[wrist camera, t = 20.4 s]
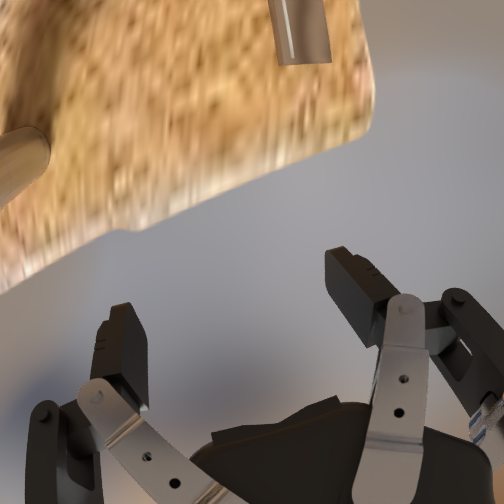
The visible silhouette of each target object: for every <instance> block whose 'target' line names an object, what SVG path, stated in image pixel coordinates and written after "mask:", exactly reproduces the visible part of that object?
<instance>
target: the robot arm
mask: <svg viewBox="0 0 504 504" xmlns="http://www.w3.org/2000/svg"><path fill="white" fill-rule="evenodd" d="M49 159H50V148H49V143H48V141H47V139H46V137H45V135H44V134H43V133H42V132H41V131H40V130H38V129H36V128H34V127H22V128H19V129H16V130H13V131H11V132H8V133H5V134H3V135H0V211H1V210H2V209H3V208H4V207H5V206H6V205H7V204H8V203H9V202H10V201H12V200H13V199H14V198H15V197H16V196H17V195H18V194H20V193H21V192H22V191H23V190H24V189H25V188H27V187H28V186H29V185H30V184H32V183H33V182H34V181H35V180H36V179H38V178H39V177H40V176H41V175H42V174H43V173H44V172H45V170H46V168H47V166H48V163H49ZM325 284H326V288H327V291H328V293H329V295H330V296H331V298H332V299H333V301H334V302H335V304H336V305H337V306H338V308H339V309H340V311H341V312H342V313H343V315H344V316H345V318H346V319H347V321H348V322H349V324H350V325H351V326H352V328H353V329H354V331H355V332H356V334H357V335H358V337H359V338H360V339H361V341H362V342H363V344H364V345H365V347H366V348H369V347H371V346H373V345H377V347H378V348H379V351H378V355H377V361H376V367H375V372H374V377H373V383H372V388H371V393H370V396H369V401H368V404H365V403H360V402H342V403H340V401H339V399H338V397H337V395H335V396H333V397H330V398H327V399H325V400H322V401H319V402H317V403H314V404H311V405H308V406H306V407H304V408H303V409H301V410H299V411H298V412H296V413H295V414H293V415H291V416H290V417H288V418H286V419H284V420H283V421H281V422H279V423H275V424H264V425H263V424H262V425H242V426H238V427H234V428H230V429H226V430H222V431H217V432H212V433H211V436H212V440H213V441H212V442H210V443H208V444H206V445H204V446H203V447H201V448H200V449H199V450H198V451H196V452H195V453H194V454H193V455H192V456H191V457H190V458H189V460H188V459H187V458H186V457H185V456H184V455H182V454H181V453H180V452H179V451H178V450H177V449H175V448H174V447H173V446H172V445H171V444H170V443H169V442H168V441H167V440H165V439H164V438H163V437H162V436H161V435H160V434H159V433H158V432H157V431H155V429H154V428H152V427H151V426H150V425H149V424H148V423H147V422H146V421H145V420H144V419H143V418H142V417H141V416H140V411H145V410H149V397H148V357H147V356H148V349H147V348H148V343H147V337H146V334H145V331H144V328H143V326H142V324H141V322H140V321H139V318H138V317H137V315H136V312H135V310H134V308H133V306H132V305H131V303H130V302H127V303H123V304H119V305H115V306H112V307H111V311H110V317H109V320H107V321H103V323H102V324H101V326H100V328H99V329H98V331H97V336H96V343H95V348H94V350H95V351H94V354H93V360H92V367H91V374H90V380H89V381H87V382H86V383H85V384H84V385H83V386H82V387H81V388H80V390H79V392H78V395H77V399H75V400H74V401H71V402H69V403H67V404H65V405H62V406H60V407H59V406H58V405H57V404H56V403H55V402H53V401H51V400H45V401H42V402H40V403H39V404H38V405H37V406H36V407H35V408H34V409H33V411H32V413H31V417H30V424H29V433H28V443H27V453H26V469H25V504H104V498H103V489H102V478H101V466H100V451H102V450H104V449H108V450H109V451H110V452H111V454H112V455H113V456H114V457H115V458H116V460H117V461H118V462H119V463H120V464H121V465H122V467H123V468H124V469H125V470H126V471H127V472H128V473H129V474H130V476H131V477H132V478H133V479H134V480H135V481H136V482H137V483H138V484H139V485H140V486H141V487H142V488H143V489H144V490H145V492H146V493H147V494H148V495H149V496H150V497H152V498H153V499H154V501H156V502H157V503H158V504H495V500H494V495H493V494H494V493H493V476H492V475H493V474H492V473H493V472H494V471H495V470H497V469H498V468H499V467H500V466H502V465H503V464H504V330H503V329H502V328H501V327H500V325H499V324H498V323H497V322H496V321H495V320H494V319H493V318H492V317H491V315H490V314H489V313H488V312H487V311H486V310H485V309H484V308H483V307H482V306H481V305H480V304H479V303H478V302H477V301H476V300H475V299H474V298H473V297H472V296H471V294H469V293H468V292H467V291H465V290H463V289H460V288H450V289H447V290H445V291H444V293H443V294H442V298H441V300H440V301H432V302H422V301H421V300H420V299H419V298H418V297H416V296H414V295H411V294H401V293H400V292H399V291H398V290H397V289H396V288H395V287H394V286H393V285H392V284H391V283H390V282H389V281H388V279H387V278H385V276H384V275H382V274H381V273H380V271H379V270H378V269H377V268H375V266H374V265H373V264H372V263H371V262H370V261H369V260H368V259H366V258H364V257H362V256H360V255H358V254H357V255H354V256H353V255H352V254H351V253H350V252H349V251H348V250H347V249H346V248H345V247H344V246H341V247H338V248H334V249H330V250H327V251H326V252H325ZM460 339H462V341H463V342H464V343H465V344H466V346H467V347H468V348H469V349H470V351H471V353H472V356H471V354H470V353H469V352H468V351H467V349H466V348H465V347H464V345H463V344H462V343H461V341H460ZM429 356H430V358H431V359H432V361H433V362H434V363H435V365H436V366H437V368H438V369H439V371H440V372H441V374H442V375H443V377H444V378H445V380H446V381H447V382H448V384H449V386H450V387H451V388H452V390H453V391H454V393H455V395H456V396H457V398H458V399H459V401H460V402H461V404H462V405H463V407H464V409H465V410H466V412H467V413H468V415H469V416H470V418H471V419H470V421H469V432H470V434H469V437H470V440H471V441H472V442H469V441H466V440H463V439H460V438H457V437H454V436H451V435H448V434H446V433H443V432H440V431H437V430H434V429H432V428H429V427H426V426H424V422H425V412H426V402H427V389H428V371H429Z"/></svg>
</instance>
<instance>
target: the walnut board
mask: <svg viewBox="0 0 504 504" xmlns="http://www.w3.org/2000/svg"><path fill="white" fill-rule="evenodd" d="M268 4H269V10H270V15H271V21H272V27H273V33H274V39H275V45H276V52H277V58H278V65H279V66H285V65H298V64H317V63H332V59H331V51H330V44H329V37H328V31H327V24H326V18H325V12H324V7H323V1H322V0H268Z"/></svg>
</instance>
